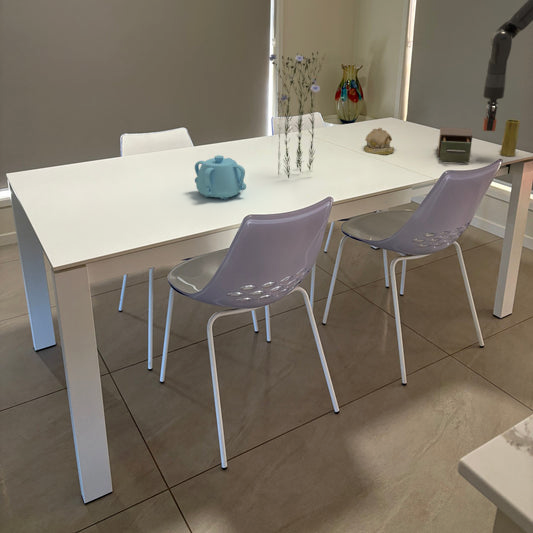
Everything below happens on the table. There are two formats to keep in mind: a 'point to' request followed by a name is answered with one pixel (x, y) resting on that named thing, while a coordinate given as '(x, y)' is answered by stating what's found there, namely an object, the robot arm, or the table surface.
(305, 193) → the table surface
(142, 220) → the table surface
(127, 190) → the table surface
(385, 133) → the ceramic model
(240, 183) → the decorative pot
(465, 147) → the drawer
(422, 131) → the table surface
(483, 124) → the block
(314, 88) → the wildflower
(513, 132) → the vase
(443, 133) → the cabinet
